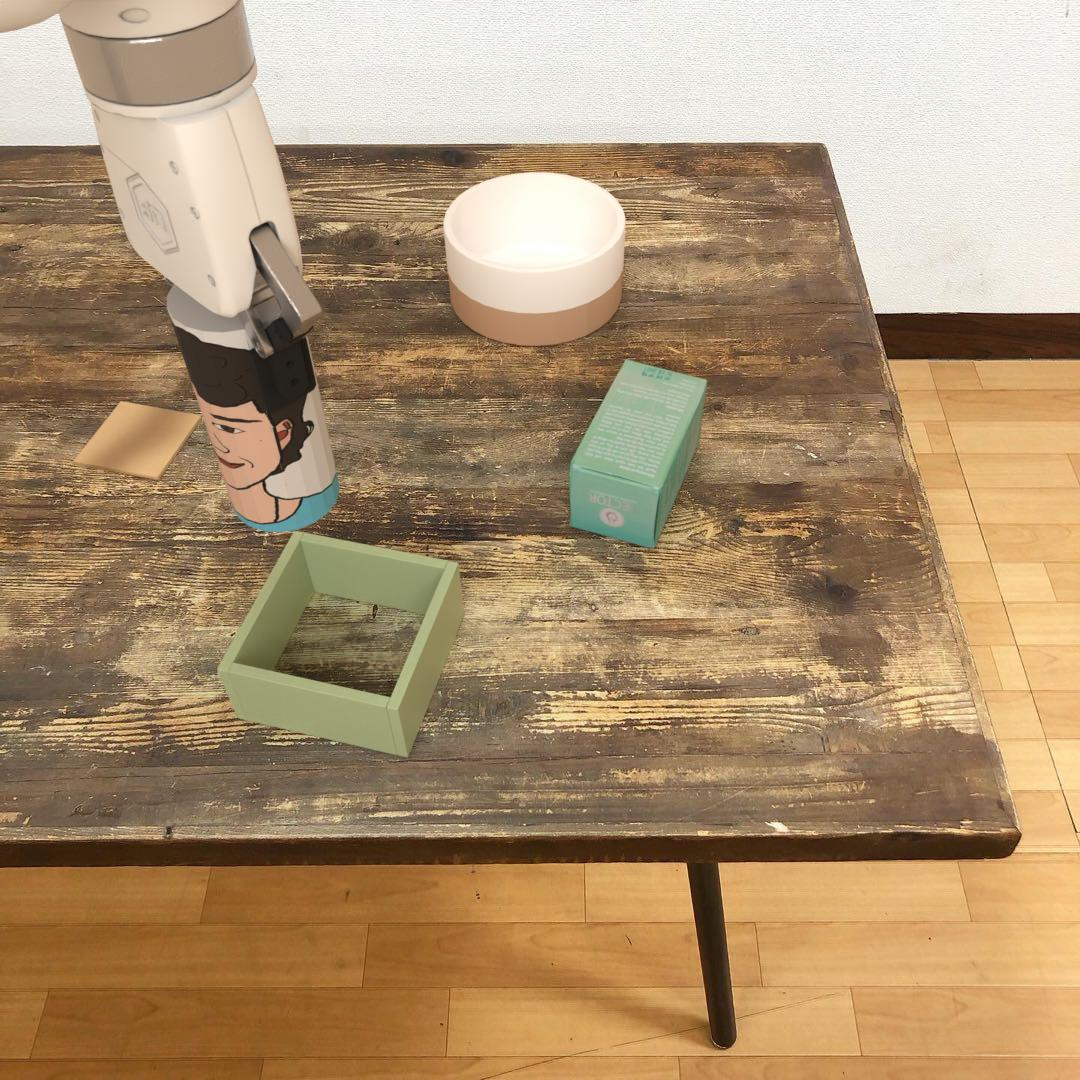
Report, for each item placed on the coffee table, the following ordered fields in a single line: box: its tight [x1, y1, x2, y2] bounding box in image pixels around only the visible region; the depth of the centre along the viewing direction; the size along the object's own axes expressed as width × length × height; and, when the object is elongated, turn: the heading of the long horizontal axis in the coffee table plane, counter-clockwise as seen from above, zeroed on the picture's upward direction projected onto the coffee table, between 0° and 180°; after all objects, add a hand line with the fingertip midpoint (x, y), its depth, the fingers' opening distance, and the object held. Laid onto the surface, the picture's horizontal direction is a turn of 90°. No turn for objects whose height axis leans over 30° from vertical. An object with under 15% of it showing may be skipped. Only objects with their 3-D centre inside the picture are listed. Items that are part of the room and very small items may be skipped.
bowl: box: [442, 171, 627, 347], centre depth 103 cm, size 17×17×8 cm
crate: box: [216, 530, 465, 758], centre depth 75 cm, size 13×13×6 cm
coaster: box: [73, 400, 203, 481], centre depth 93 cm, size 8×8×1 cm
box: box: [568, 359, 708, 549], centre depth 86 cm, size 7×14×8 cm, turn 159°
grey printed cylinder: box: [166, 273, 340, 533], centre depth 62 cm, size 7×7×15 cm
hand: (250, 366), depth 60 cm, fingers closed on grey printed cylinder, 6 cm apart
